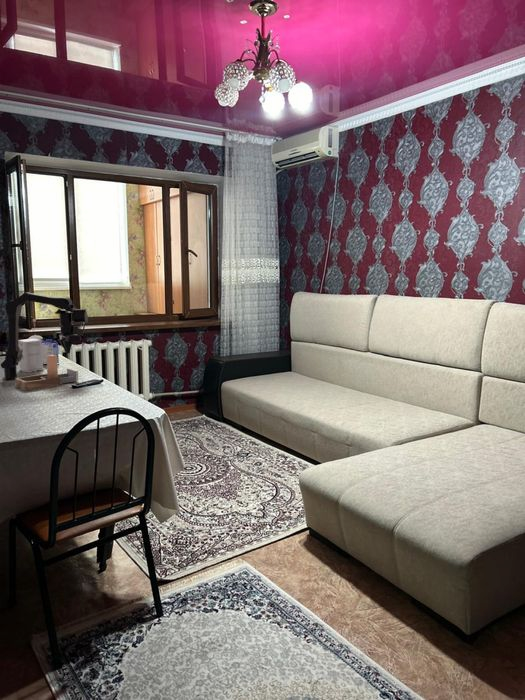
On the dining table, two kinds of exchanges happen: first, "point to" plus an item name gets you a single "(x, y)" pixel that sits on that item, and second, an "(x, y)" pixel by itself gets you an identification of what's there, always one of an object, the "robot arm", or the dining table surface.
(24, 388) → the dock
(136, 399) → the dining table surface
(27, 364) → the supplement box
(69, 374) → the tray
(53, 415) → the dining table surface
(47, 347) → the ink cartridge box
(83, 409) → the dining table surface
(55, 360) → the canister
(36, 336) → the french press
